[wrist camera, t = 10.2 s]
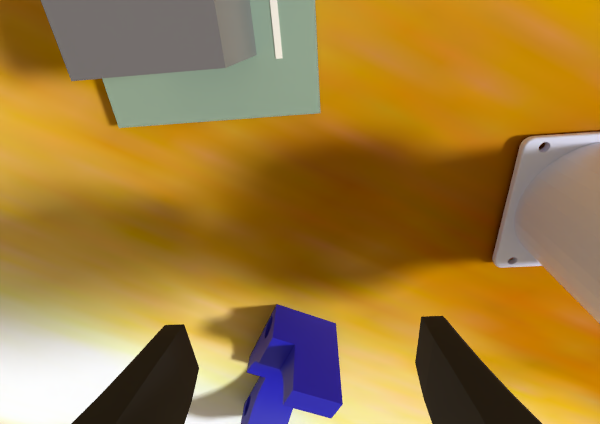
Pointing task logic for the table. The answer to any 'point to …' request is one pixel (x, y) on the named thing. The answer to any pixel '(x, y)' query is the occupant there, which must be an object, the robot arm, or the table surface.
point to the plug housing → (149, 35)
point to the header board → (234, 77)
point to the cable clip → (294, 369)
